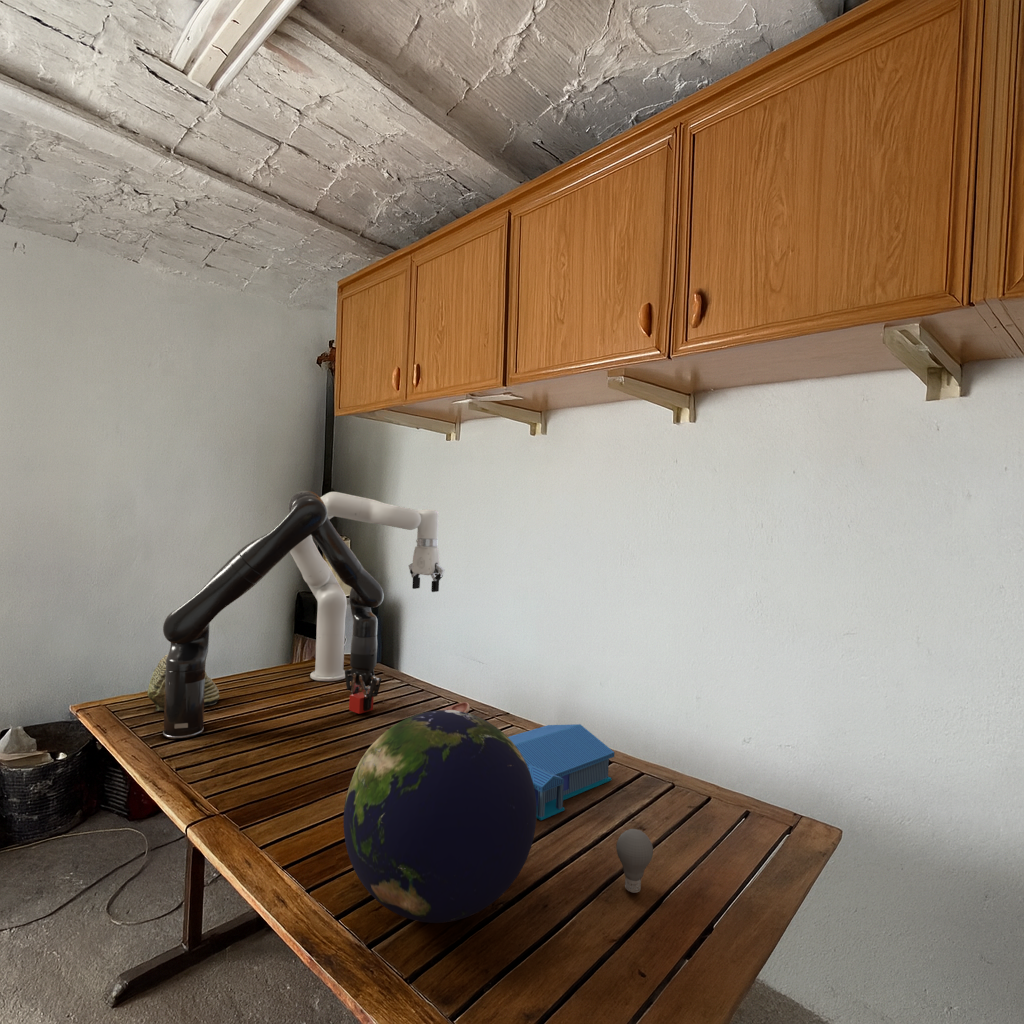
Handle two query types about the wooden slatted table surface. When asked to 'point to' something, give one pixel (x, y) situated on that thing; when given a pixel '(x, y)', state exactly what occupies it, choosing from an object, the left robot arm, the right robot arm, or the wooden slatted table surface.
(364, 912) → the wooden slatted table surface
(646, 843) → the light bulb
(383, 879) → the globe
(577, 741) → the model building
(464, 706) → the anatomical model
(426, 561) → the right robot arm
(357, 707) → the block
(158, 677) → the fossil
